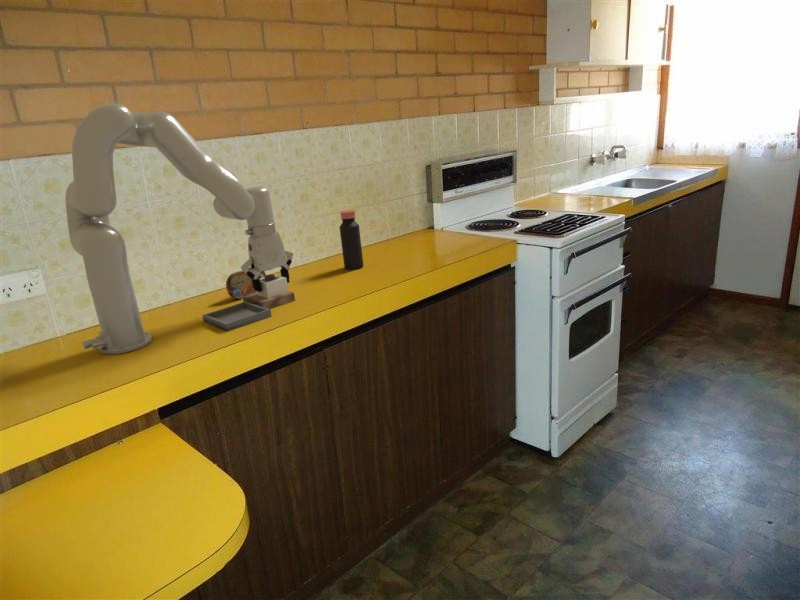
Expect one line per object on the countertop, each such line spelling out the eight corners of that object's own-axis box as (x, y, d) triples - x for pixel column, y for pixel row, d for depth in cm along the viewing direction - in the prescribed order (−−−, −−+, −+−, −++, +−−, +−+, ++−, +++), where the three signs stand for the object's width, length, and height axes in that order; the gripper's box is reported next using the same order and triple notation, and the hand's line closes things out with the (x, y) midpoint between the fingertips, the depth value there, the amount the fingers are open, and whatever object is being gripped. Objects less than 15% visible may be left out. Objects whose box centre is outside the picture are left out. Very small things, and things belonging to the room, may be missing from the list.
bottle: (352, 271, 199) (345, 213, 193) (340, 268, 204) (333, 212, 198) (367, 266, 203) (361, 210, 197) (356, 264, 208) (349, 209, 202)
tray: (227, 331, 150) (225, 324, 150) (203, 321, 160) (202, 315, 159) (271, 316, 159) (270, 309, 159) (246, 307, 169) (245, 301, 168)
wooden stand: (263, 311, 164) (258, 284, 162) (243, 304, 172) (239, 279, 170) (295, 300, 172) (291, 274, 169) (275, 294, 179) (271, 270, 177)
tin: (234, 302, 176) (229, 276, 173) (227, 301, 177) (222, 275, 175) (268, 288, 187) (264, 263, 185) (261, 287, 189) (257, 262, 187)
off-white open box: (268, 298, 167) (266, 283, 166) (256, 294, 172) (253, 280, 171) (288, 291, 172) (286, 277, 171) (276, 288, 177) (273, 274, 175)
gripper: (242, 238, 158) (253, 296, 163) (294, 225, 169) (303, 280, 175) (229, 236, 163) (240, 292, 169) (280, 223, 174) (289, 277, 180)
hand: (272, 286), depth 172 cm, fingers open, 9 cm apart
